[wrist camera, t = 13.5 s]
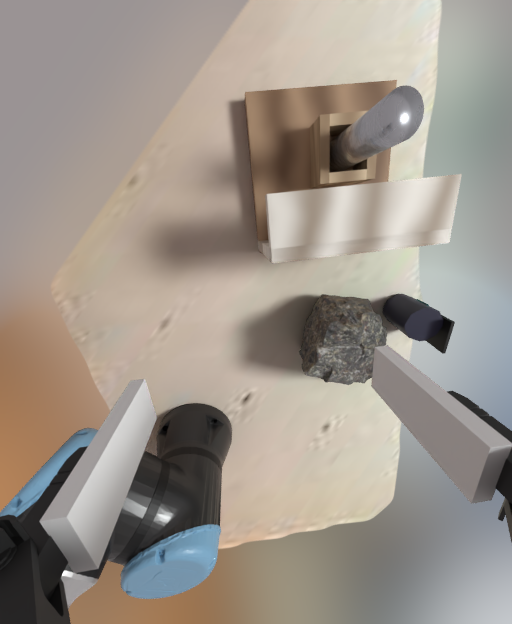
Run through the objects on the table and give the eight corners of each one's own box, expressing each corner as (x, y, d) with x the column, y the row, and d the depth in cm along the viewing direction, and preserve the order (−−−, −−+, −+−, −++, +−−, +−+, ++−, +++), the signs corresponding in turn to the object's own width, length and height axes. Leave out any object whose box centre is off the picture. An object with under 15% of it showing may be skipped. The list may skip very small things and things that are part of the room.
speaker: (425, 301, 45) (471, 323, 35) (408, 327, 47) (446, 354, 37) (390, 287, 44) (426, 306, 35) (374, 314, 46) (404, 339, 37)
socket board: (258, 251, 39) (272, 265, 26) (244, 99, 32) (253, 10, 19) (376, 237, 40) (448, 245, 27) (387, 88, 33) (494, -6, 20)
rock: (291, 279, 38) (266, 364, 41) (371, 302, 29) (332, 410, 32) (345, 292, 51) (324, 356, 54) (414, 311, 41) (383, 388, 44)
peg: (322, 141, 33) (381, 87, 20) (350, 138, 33) (426, 83, 20) (322, 174, 34) (377, 144, 21) (349, 171, 35) (420, 140, 21)
